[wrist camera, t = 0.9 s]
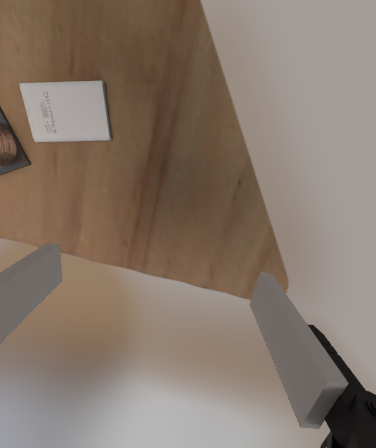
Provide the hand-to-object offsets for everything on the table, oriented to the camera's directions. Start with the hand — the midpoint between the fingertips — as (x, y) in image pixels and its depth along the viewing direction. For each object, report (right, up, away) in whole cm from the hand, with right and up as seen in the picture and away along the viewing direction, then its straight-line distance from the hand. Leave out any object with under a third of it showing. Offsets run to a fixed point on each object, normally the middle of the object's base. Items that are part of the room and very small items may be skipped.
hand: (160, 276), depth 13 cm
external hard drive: (-17, +21, +19) cm, 33 cm away
